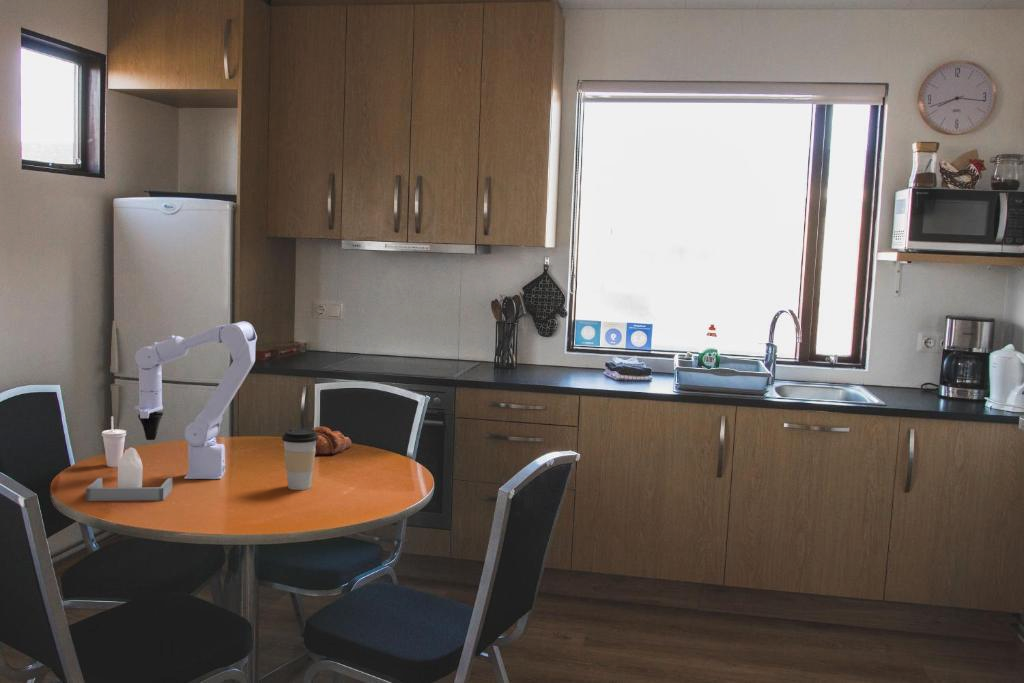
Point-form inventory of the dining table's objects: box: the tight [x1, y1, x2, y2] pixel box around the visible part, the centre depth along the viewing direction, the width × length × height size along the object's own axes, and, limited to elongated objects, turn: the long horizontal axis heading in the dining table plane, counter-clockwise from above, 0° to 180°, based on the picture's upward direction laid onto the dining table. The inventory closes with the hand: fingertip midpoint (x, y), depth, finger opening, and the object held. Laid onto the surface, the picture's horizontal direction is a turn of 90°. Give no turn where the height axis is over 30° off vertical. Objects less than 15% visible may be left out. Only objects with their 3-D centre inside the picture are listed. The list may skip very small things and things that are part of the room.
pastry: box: [312, 426, 352, 457], centre depth 281 cm, size 17×15×8 cm
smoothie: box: [101, 416, 127, 468], centre depth 254 cm, size 6×6×14 cm
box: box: [85, 477, 173, 502], centre depth 227 cm, size 18×10×3 cm, turn 98°
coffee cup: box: [281, 427, 319, 491], centre depth 239 cm, size 9×9×15 cm
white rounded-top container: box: [117, 447, 143, 488], centre depth 228 cm, size 6×12×6 cm
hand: (151, 439), depth 247 cm, fingers closed
